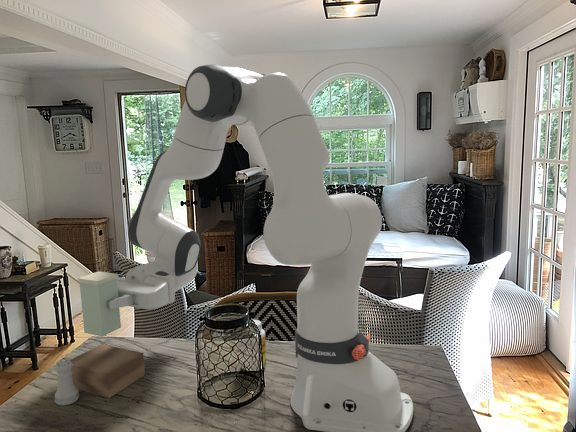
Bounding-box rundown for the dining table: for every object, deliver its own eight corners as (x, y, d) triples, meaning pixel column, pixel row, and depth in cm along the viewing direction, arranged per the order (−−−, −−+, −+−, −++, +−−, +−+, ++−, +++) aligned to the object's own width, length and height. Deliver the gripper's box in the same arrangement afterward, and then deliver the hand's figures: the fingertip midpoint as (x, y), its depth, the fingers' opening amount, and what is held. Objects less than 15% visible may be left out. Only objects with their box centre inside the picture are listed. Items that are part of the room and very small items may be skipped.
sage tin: (122, 327, 99) (117, 273, 97) (102, 337, 94) (97, 281, 92) (103, 323, 101) (98, 271, 99) (82, 333, 96) (77, 278, 94)
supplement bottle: (252, 375, 99) (250, 330, 98) (235, 367, 103) (233, 323, 102) (271, 366, 103) (270, 322, 101) (255, 358, 107) (253, 316, 105)
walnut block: (144, 374, 101) (143, 352, 100) (109, 397, 92) (107, 374, 91) (103, 364, 106) (101, 343, 105) (66, 385, 97) (63, 363, 96)
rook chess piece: (49, 405, 90) (45, 366, 89) (63, 393, 94) (59, 356, 93) (71, 407, 89) (67, 367, 88) (84, 394, 93) (80, 356, 92)
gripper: (109, 267, 112) (59, 283, 100) (178, 275, 103) (133, 294, 91) (111, 292, 113) (62, 311, 101) (180, 303, 104) (136, 325, 92)
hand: (96, 303), depth 96 cm, fingers closed on sage tin, 5 cm apart
